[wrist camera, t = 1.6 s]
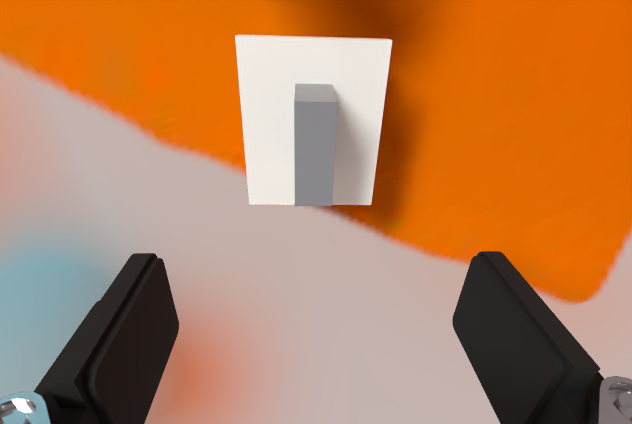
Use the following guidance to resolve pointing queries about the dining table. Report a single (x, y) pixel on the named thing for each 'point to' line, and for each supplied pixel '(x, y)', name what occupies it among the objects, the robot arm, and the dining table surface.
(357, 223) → the dining table surface
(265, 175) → the lid
